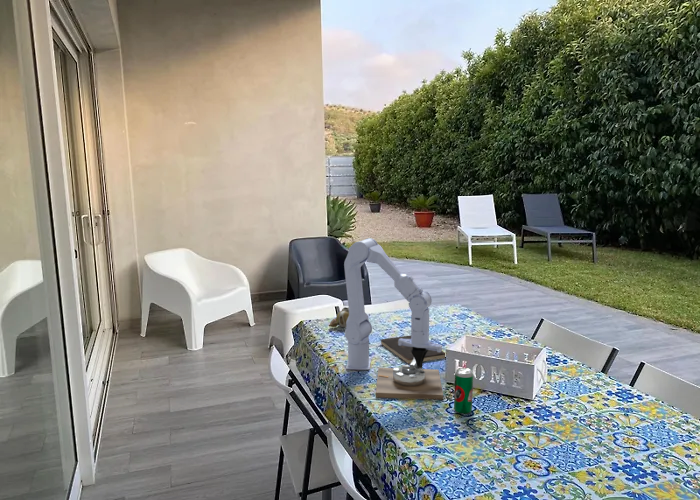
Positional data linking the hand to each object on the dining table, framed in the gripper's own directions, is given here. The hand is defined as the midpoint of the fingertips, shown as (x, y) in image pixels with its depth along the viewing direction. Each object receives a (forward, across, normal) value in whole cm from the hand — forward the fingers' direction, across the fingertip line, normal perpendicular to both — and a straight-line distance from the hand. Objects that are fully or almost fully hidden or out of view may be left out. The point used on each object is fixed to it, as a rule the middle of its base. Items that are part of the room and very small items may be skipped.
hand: (419, 369), depth 184 cm
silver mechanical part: (+1, +1, +4) cm, 4 cm away
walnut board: (+2, 0, +8) cm, 8 cm away
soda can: (+3, -20, +17) cm, 27 cm away
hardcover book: (+3, +12, -22) cm, 25 cm away
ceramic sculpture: (+2, +48, -35) cm, 60 cm away
